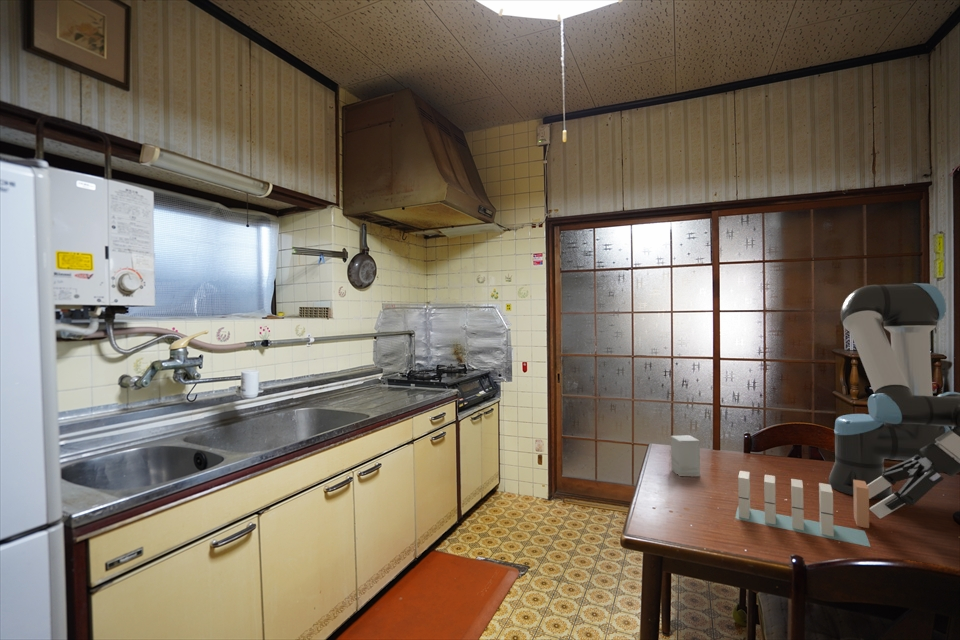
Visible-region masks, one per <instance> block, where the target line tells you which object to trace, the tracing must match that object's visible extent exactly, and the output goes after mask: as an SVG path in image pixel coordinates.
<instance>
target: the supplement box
mask: <svg viewBox="0 0 960 640" xmlns="http://www.w3.org/2000/svg"><path fill="white" fill-rule="evenodd" d="M700 444H701V443H700V440H699V439H697V438H696V437H693V436H692V435H690V434H689V435H686V434H685V435H683V434H682V435H670V461H671V462H670V463H671V467H670V469H671V471H672V470H673V471H672V472H674V473H675V474H676V475H677V474H678V475H677V476H679V477H680V476H691V477H700V476H701V456H700V453H701V450H700V449H701V448H700Z"/></svg>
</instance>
